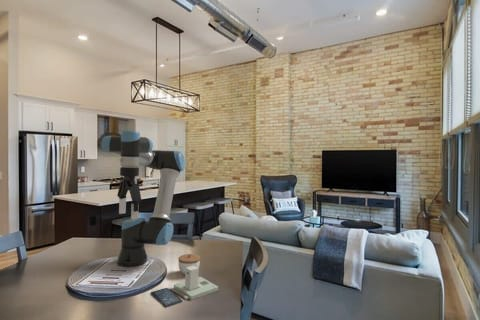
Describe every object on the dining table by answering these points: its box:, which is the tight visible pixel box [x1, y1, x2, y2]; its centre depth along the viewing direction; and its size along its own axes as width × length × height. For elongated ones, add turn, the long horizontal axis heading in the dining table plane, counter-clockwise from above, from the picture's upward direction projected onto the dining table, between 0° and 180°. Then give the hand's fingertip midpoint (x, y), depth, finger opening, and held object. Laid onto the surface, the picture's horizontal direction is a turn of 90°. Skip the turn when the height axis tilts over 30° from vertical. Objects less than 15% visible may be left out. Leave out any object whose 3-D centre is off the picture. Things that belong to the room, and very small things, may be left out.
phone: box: [150, 287, 183, 308], centre depth 120 cm, size 14×7×1 cm, turn 41°
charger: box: [184, 266, 200, 291], centre depth 127 cm, size 4×4×10 cm
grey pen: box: [166, 286, 190, 300], centre depth 124 cm, size 13×1×1 cm, turn 50°
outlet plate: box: [173, 276, 219, 301], centre depth 129 cm, size 14×14×2 cm
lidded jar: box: [177, 253, 201, 276], centre depth 146 cm, size 11×11×9 cm
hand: (128, 216), depth 126 cm, fingers open, 13 cm apart
